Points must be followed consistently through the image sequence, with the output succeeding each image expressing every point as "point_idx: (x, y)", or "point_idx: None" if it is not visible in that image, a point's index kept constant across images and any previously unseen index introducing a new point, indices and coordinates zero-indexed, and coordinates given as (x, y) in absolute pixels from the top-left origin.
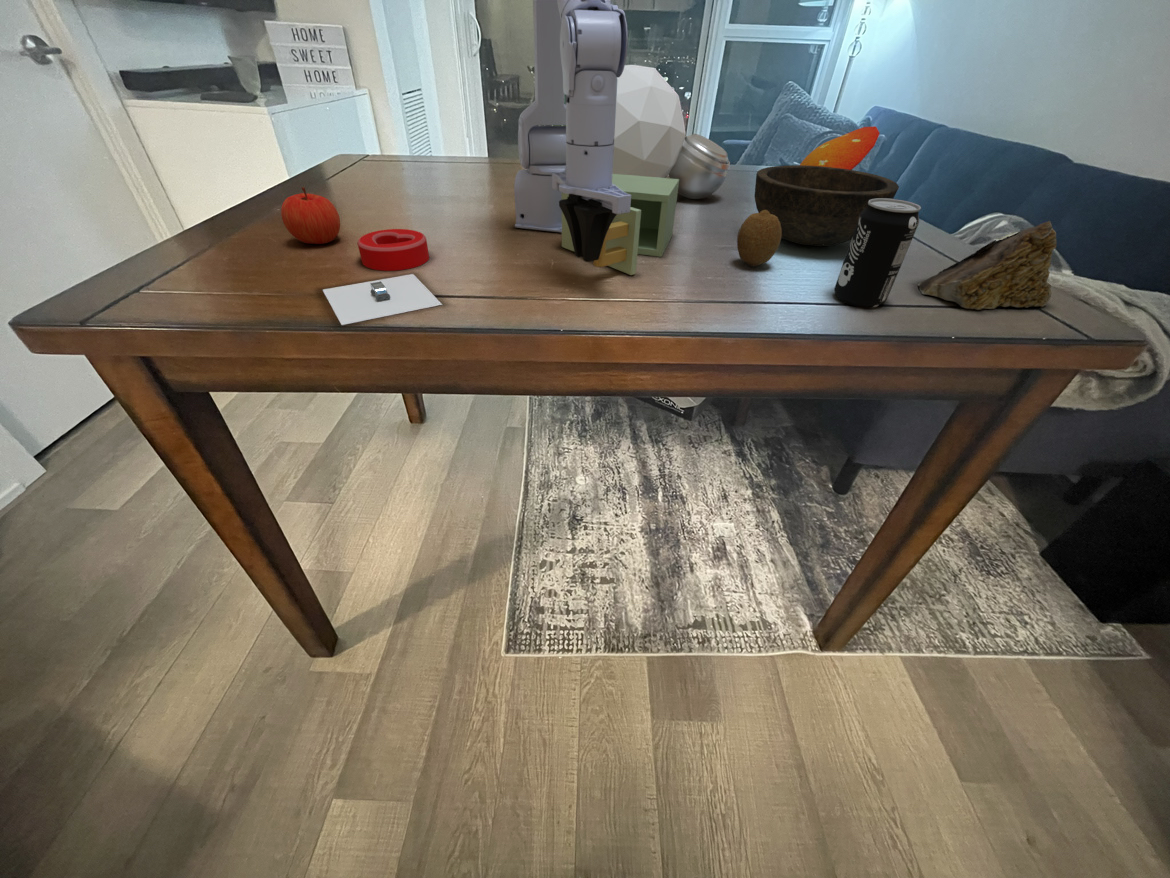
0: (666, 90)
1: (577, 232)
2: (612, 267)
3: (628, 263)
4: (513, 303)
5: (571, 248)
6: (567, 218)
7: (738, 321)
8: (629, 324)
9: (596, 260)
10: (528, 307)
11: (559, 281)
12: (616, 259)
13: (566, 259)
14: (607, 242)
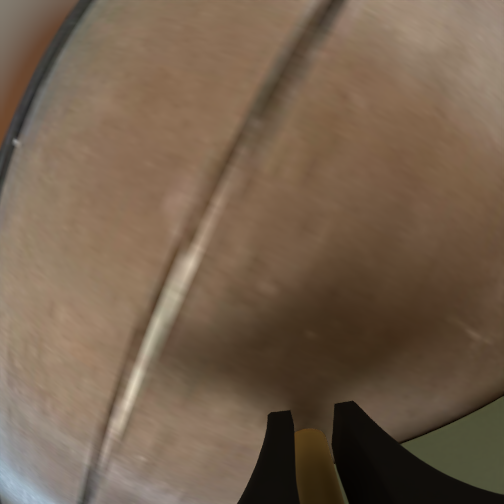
0: None
1: (371, 478)
2: None
3: None
4: (240, 60)
5: (494, 405)
6: (442, 494)
7: (17, 462)
8: (4, 318)
9: (300, 446)
10: (184, 93)
11: (352, 298)
12: None
13: (469, 378)
14: None
